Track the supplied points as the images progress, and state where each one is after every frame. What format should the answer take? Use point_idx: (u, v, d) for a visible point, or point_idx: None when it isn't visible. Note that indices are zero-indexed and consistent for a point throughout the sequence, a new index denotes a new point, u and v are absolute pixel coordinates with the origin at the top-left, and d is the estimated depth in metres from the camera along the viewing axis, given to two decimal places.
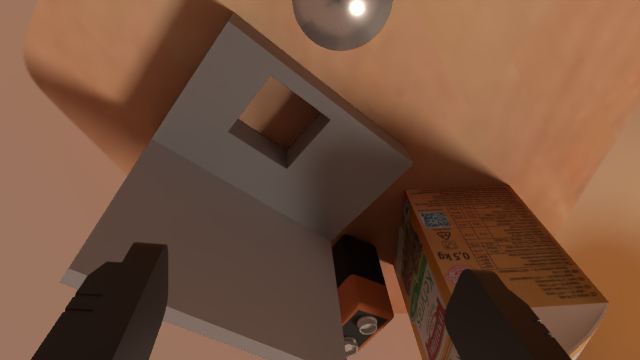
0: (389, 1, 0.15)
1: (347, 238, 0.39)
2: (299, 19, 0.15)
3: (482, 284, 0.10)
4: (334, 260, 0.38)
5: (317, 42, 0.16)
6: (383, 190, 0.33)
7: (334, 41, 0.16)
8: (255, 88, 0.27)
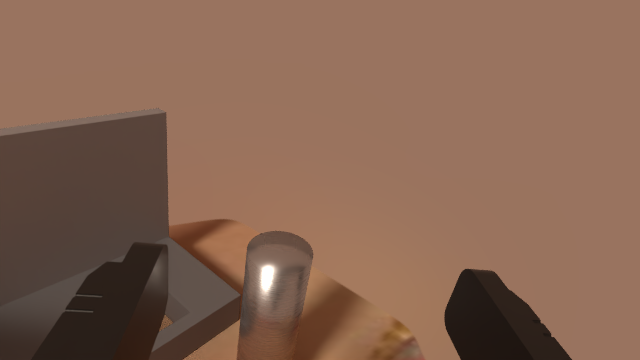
0: (276, 270, 0.21)
1: None
2: (271, 232, 0.24)
3: (482, 284, 0.10)
4: None
5: (255, 237, 0.23)
6: None
7: (254, 244, 0.23)
8: (182, 300, 0.31)
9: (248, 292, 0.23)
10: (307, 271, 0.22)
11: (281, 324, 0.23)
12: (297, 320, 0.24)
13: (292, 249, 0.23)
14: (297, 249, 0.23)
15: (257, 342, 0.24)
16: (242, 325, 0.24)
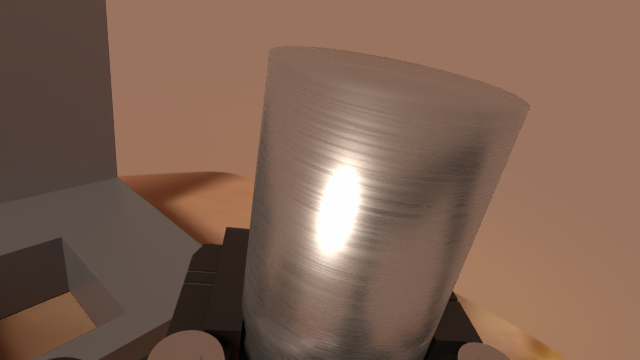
0: (417, 98, 0.04)
1: None
2: (343, 51, 0.07)
3: None
4: None
5: None
6: None
7: (296, 51, 0.06)
8: (115, 286, 0.14)
9: (267, 231, 0.06)
10: (514, 143, 0.05)
11: (390, 356, 0.06)
12: (430, 341, 0.07)
13: (434, 77, 0.06)
14: (451, 80, 0.06)
15: None
16: (244, 353, 0.07)
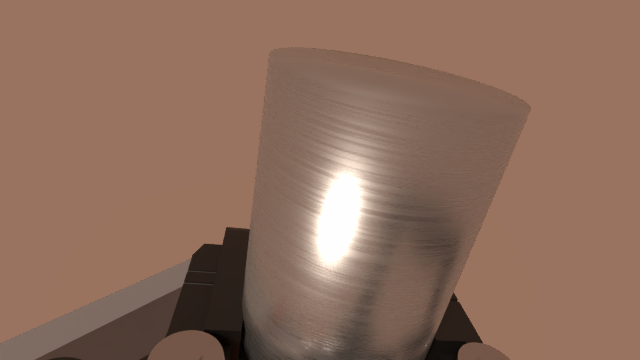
0: (417, 100, 0.04)
1: None
2: (343, 52, 0.07)
3: None
4: None
5: None
6: None
7: (296, 52, 0.06)
8: None
9: (267, 233, 0.06)
10: (515, 145, 0.05)
11: (390, 359, 0.06)
12: (430, 343, 0.07)
13: (435, 79, 0.06)
14: (451, 81, 0.06)
15: None
16: (244, 355, 0.07)
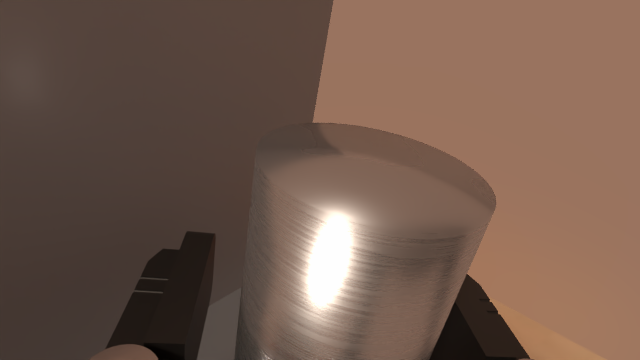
0: (386, 220, 0.05)
1: None
2: (329, 124, 0.08)
3: None
4: None
5: (283, 127, 0.07)
6: None
7: (282, 141, 0.07)
8: None
9: (255, 311, 0.06)
10: (482, 236, 0.06)
11: None
12: None
13: (411, 164, 0.07)
14: (427, 165, 0.07)
15: None
16: None
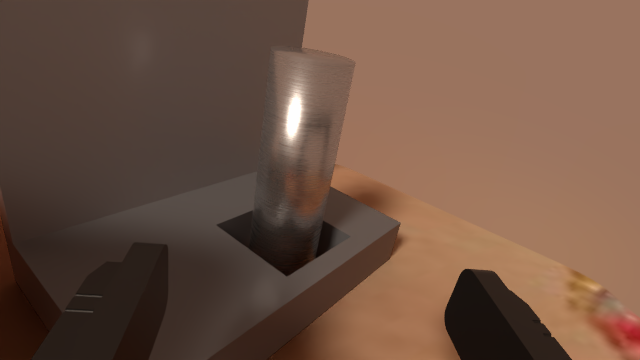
0: (310, 59, 0.16)
1: None
2: (299, 47, 0.19)
3: (482, 284, 0.10)
4: None
5: None
6: None
7: (279, 47, 0.18)
8: (334, 223, 0.23)
9: (270, 107, 0.17)
10: (349, 76, 0.17)
11: (312, 152, 0.18)
12: (331, 157, 0.19)
13: (328, 56, 0.18)
14: (334, 57, 0.18)
15: (279, 182, 0.18)
16: (261, 165, 0.19)
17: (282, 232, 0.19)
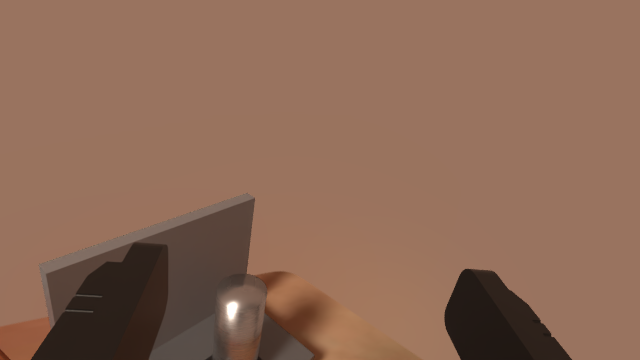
0: (236, 307, 0.28)
1: None
2: (237, 274, 0.32)
3: (482, 284, 0.10)
4: None
5: (224, 279, 0.31)
6: None
7: (222, 285, 0.30)
8: None
9: (216, 321, 0.30)
10: (261, 307, 0.30)
11: (241, 346, 0.30)
12: (255, 343, 0.31)
13: (251, 289, 0.30)
14: (255, 289, 0.30)
15: (224, 359, 0.31)
16: (214, 346, 0.32)
17: None
